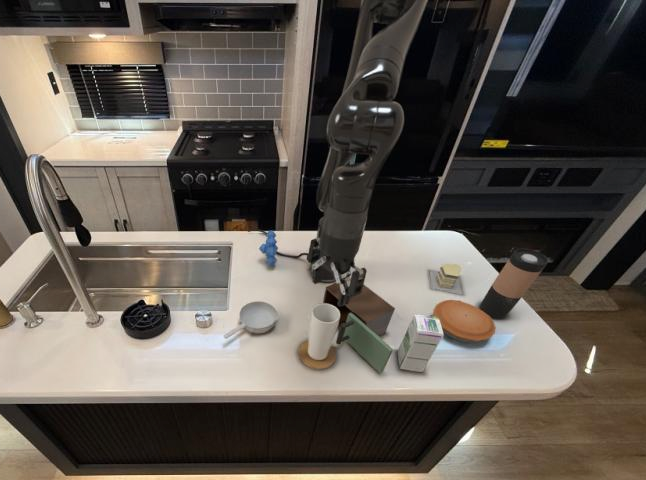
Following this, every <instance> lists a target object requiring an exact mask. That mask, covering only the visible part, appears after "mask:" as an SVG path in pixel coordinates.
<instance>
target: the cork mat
mask: <svg viewBox="0 0 646 480" xmlns="http://www.w3.org/2000/svg"><path fill="white" fill-rule="evenodd" d="M308 342H309V339H307V340H306V341H304V342H303V343H302V344H301V345H300V346H299V349H298V357H299V359H300V361H301V362H302V364H304V365H305V366H306V367H308V368H310V369H313V370H326V369H329V368H330V367H332V366H333V365H334V363H335V361H336V358H337V355H336V351H335V349H334V348H333V346H332V345H331V346H330V349H329V352H328V355H327V357H326V358H325V359H323V360H315V359H313V358H311V357H310V356H309V354H308Z"/></svg>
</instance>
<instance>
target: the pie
mask: <svg viewBox="0 0 646 480" xmlns="http://www.w3.org/2000/svg"><path fill="white" fill-rule="evenodd" d="M432 311H433V316H434V317H439V320H440V323H441V327H442V330H443V333H444V335H446V336H447V337H448V338H450V339H452V340H455V341H457V342H461V343H475V342H479V341H485V340H489V339H491V338H492V337H493V336H494V335H495V334H496V324H495V321H494V319H493V318H491V317H490V316H489V315H487V314H486V313H485V312H483V311H482V310H480V309H479V307H477V306H475V305H473V304H470V303H469V302H468V303H467V302H465V301H462V300H456V299H448V300H447V299H446V300H442V301H440V302H438V303H437V304H436V305H435V306H434V308H433V310H432Z"/></svg>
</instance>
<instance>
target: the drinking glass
mask: <svg viewBox="0 0 646 480" xmlns="http://www.w3.org/2000/svg"><path fill="white" fill-rule="evenodd" d="M339 320H340V312H339V310H338V309H337V308H336V307H335V306H333V305H331V304H326V303H323V302H321V303H318V304H315V305H314V306H313V307H312V309H311V311H310V316H309V321H308V322H309V323H308V340H309V342H308V354H309V356H310V357H311V358H313V359H315V360H323V359H325V358H326V357H327V355H328V352H329V349H330V346H332V344H333V341H334V338H335V337H336V336H335V335H336V333H337V331H338V325H339Z"/></svg>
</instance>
